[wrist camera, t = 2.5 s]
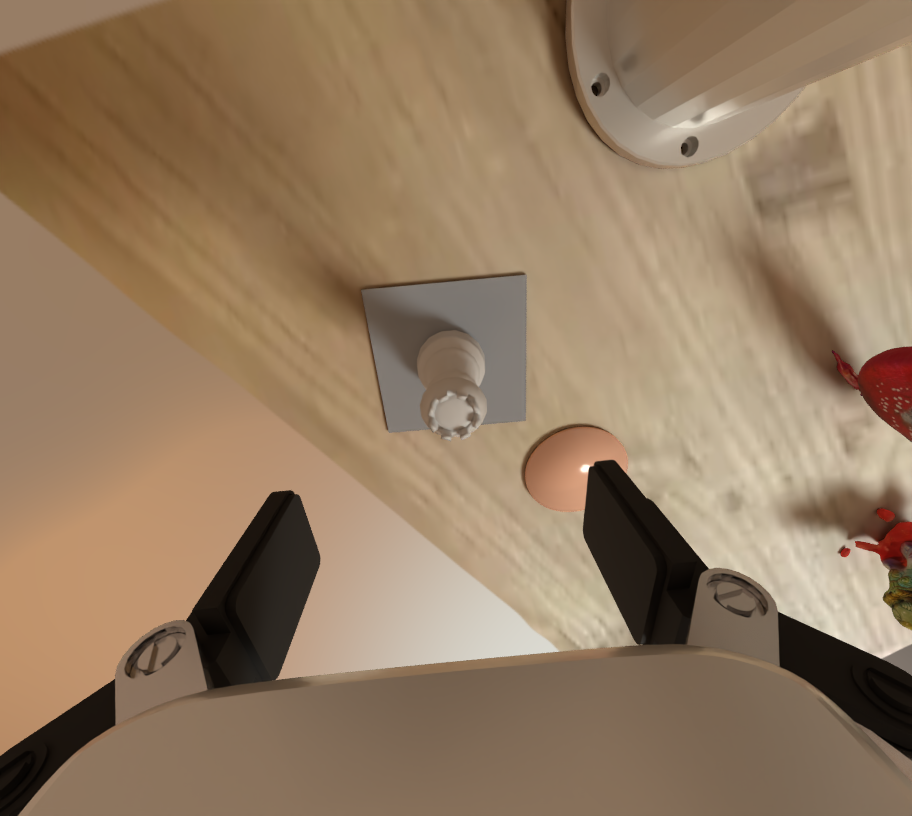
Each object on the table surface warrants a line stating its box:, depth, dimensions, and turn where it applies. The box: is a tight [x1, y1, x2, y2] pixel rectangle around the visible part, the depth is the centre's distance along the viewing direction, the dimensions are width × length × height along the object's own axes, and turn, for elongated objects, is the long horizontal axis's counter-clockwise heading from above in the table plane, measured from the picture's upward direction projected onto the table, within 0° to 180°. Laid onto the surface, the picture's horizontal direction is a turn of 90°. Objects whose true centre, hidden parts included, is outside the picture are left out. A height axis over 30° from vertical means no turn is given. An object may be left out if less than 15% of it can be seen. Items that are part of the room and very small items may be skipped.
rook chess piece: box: [417, 330, 487, 441], centre depth 20 cm, size 4×4×8 cm
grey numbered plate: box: [361, 275, 527, 433], centre depth 23 cm, size 10×10×1 cm
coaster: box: [525, 426, 628, 512], centre depth 28 cm, size 8×8×1 cm
